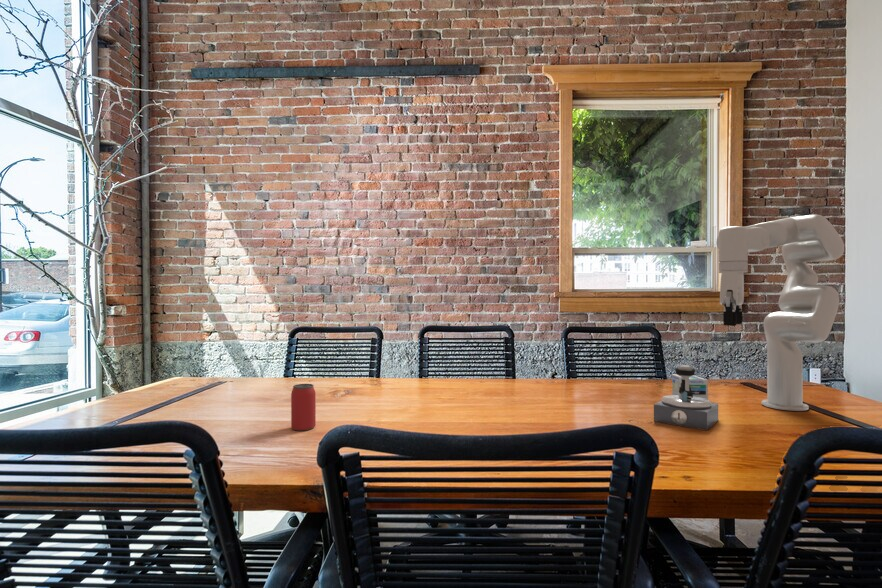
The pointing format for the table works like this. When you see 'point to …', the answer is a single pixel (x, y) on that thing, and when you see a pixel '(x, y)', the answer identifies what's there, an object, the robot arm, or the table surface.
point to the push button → (685, 381)
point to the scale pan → (686, 402)
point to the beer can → (303, 407)
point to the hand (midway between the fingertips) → (733, 324)
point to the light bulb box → (696, 383)
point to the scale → (686, 416)
